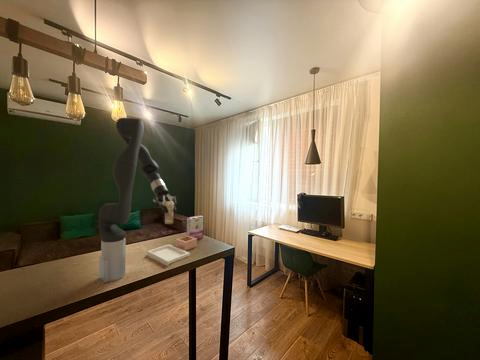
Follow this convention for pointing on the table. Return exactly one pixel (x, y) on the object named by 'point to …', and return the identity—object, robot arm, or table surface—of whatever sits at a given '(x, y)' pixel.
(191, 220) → the candy bar box
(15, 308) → the table surface
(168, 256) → the tray
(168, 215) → the birch dowel
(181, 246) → the pink square box
